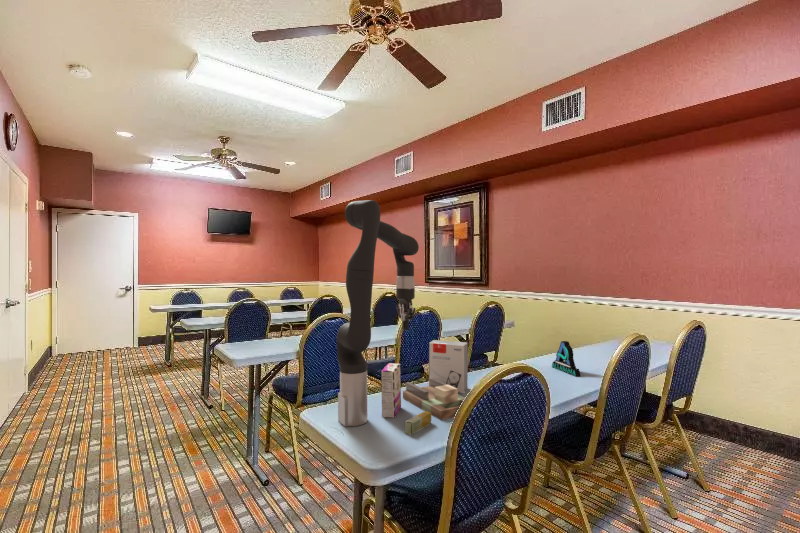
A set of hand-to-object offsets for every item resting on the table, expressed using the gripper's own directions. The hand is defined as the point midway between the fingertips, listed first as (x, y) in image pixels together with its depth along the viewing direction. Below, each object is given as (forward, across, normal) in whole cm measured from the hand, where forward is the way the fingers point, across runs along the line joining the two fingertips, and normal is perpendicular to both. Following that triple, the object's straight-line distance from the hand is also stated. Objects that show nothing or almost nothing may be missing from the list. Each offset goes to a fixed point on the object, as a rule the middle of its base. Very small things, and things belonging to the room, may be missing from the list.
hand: (405, 329), depth 163 cm
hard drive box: (+27, +2, +20) cm, 34 cm away
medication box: (+27, +31, -12) cm, 43 cm away
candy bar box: (+27, +14, -14) cm, 34 cm away
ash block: (+24, +20, +6) cm, 32 cm away
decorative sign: (+26, +7, +86) cm, 90 cm away
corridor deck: (+27, +16, +6) cm, 31 cm away
